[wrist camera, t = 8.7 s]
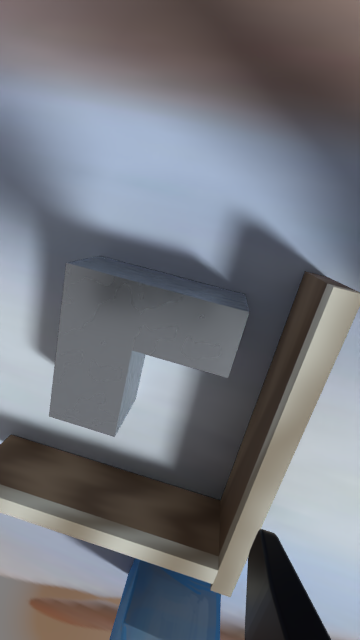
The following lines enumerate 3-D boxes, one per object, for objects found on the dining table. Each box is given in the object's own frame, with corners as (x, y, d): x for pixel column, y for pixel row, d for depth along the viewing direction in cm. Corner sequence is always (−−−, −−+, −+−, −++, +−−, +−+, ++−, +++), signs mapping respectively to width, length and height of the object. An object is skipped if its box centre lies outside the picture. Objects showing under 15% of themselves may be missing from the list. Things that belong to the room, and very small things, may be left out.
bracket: (205, 420, 20) (200, 463, 16) (81, 382, 21) (48, 416, 17) (245, 294, 17) (249, 312, 14) (100, 256, 18) (66, 262, 14)
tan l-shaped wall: (326, 276, 16) (364, 294, 12) (229, 523, 23) (230, 597, 18) (25, 200, 18) (-45, 190, 13) (9, 452, 24) (-42, 505, 19)
